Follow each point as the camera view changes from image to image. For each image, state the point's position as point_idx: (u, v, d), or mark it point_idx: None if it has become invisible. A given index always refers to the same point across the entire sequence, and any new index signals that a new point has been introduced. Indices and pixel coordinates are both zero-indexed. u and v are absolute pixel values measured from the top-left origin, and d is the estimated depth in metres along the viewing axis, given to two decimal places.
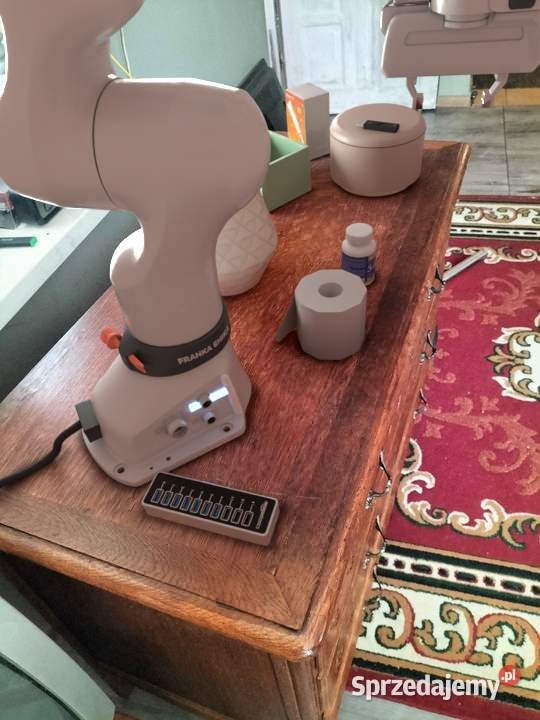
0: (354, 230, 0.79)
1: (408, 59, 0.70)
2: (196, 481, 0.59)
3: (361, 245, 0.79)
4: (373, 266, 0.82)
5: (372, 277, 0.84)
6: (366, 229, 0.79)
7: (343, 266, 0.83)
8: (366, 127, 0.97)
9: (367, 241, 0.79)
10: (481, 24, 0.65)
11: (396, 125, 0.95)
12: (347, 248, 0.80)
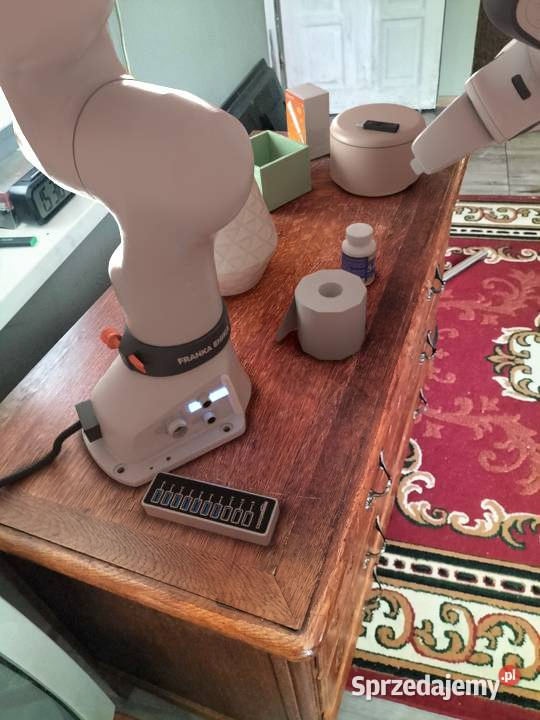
0: (354, 231, 0.79)
1: None
2: (196, 481, 0.59)
3: (361, 245, 0.79)
4: (373, 266, 0.82)
5: (372, 277, 0.84)
6: (366, 229, 0.79)
7: (343, 266, 0.83)
8: (366, 127, 0.97)
9: (367, 241, 0.79)
10: None
11: (396, 125, 0.95)
12: (347, 248, 0.80)
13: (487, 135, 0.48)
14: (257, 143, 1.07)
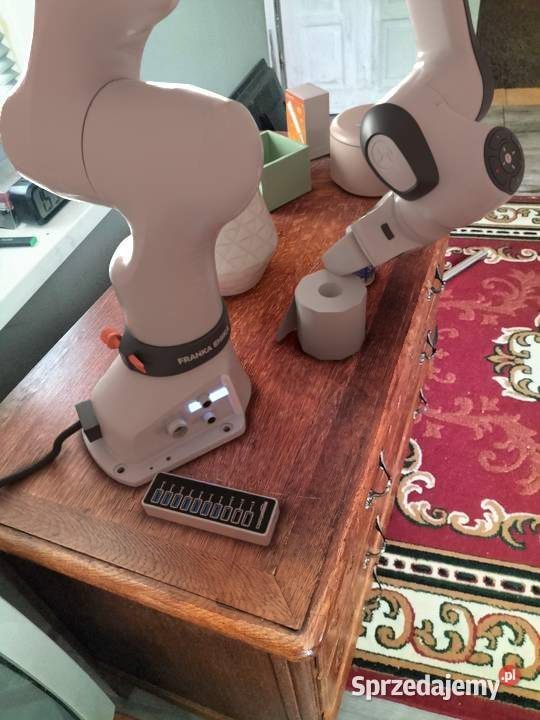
0: None
1: None
2: (196, 481, 0.59)
3: None
4: None
5: (372, 277, 0.84)
6: None
7: None
8: None
9: None
10: None
11: None
12: None
13: (367, 260, 0.69)
14: None
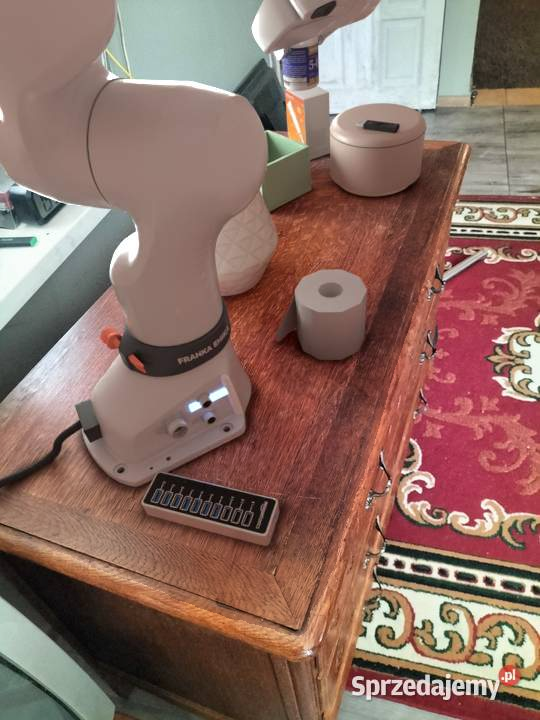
0: None
1: None
2: (196, 481, 0.59)
3: None
4: (316, 64, 0.76)
5: (315, 79, 0.78)
6: None
7: (284, 66, 0.77)
8: (366, 127, 0.97)
9: None
10: None
11: (396, 125, 0.95)
12: None
13: (295, 14, 0.63)
14: None
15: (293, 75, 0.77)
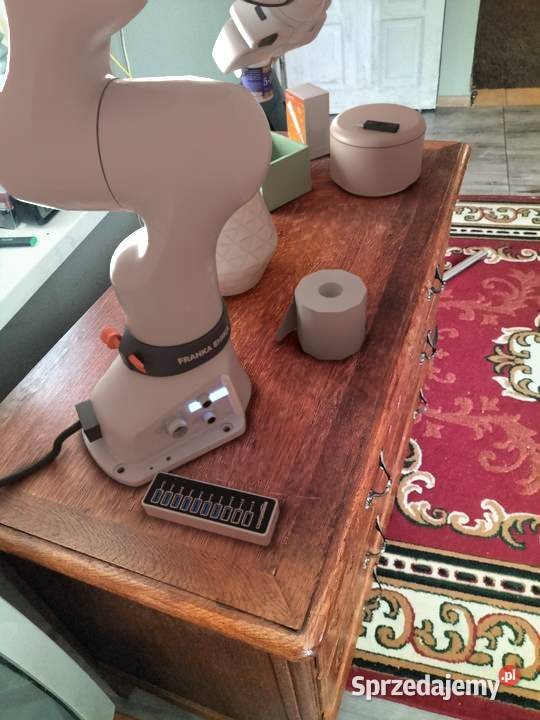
0: None
1: None
2: (196, 481, 0.59)
3: None
4: (269, 81, 0.92)
5: (270, 93, 0.93)
6: None
7: (243, 82, 0.93)
8: (366, 127, 0.97)
9: None
10: None
11: (396, 125, 0.95)
12: None
13: (245, 43, 0.78)
14: None
15: (250, 89, 0.92)
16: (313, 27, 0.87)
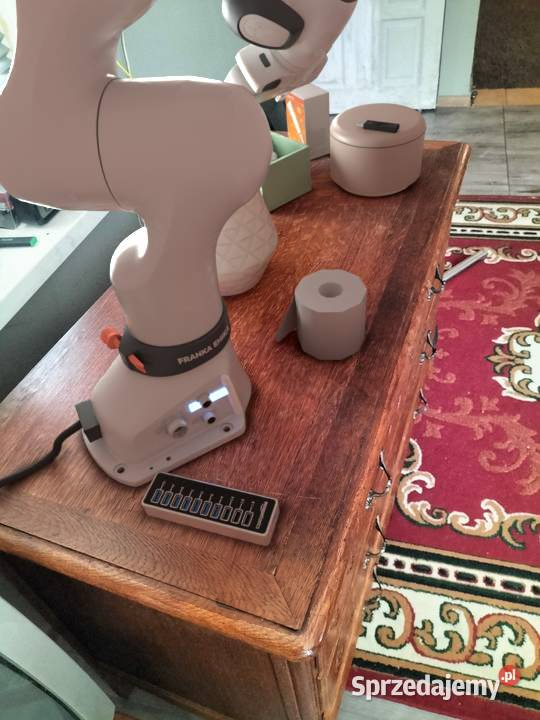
0: None
1: None
2: (196, 481, 0.59)
3: None
4: None
5: None
6: None
7: None
8: (366, 127, 0.97)
9: None
10: None
11: (396, 125, 0.95)
12: None
13: (250, 88, 0.83)
14: None
15: None
16: (314, 69, 0.91)
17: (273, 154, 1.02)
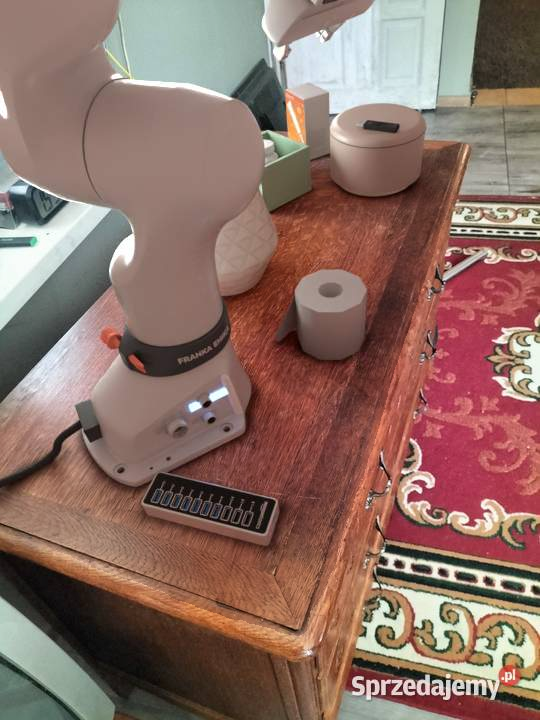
0: None
1: None
2: (196, 481, 0.59)
3: (265, 156, 1.01)
4: None
5: None
6: (268, 143, 1.01)
7: None
8: (366, 127, 0.97)
9: (269, 152, 1.01)
10: None
11: (396, 125, 0.95)
12: None
13: (307, 1, 0.64)
14: None
15: None
16: None
17: (274, 154, 1.03)
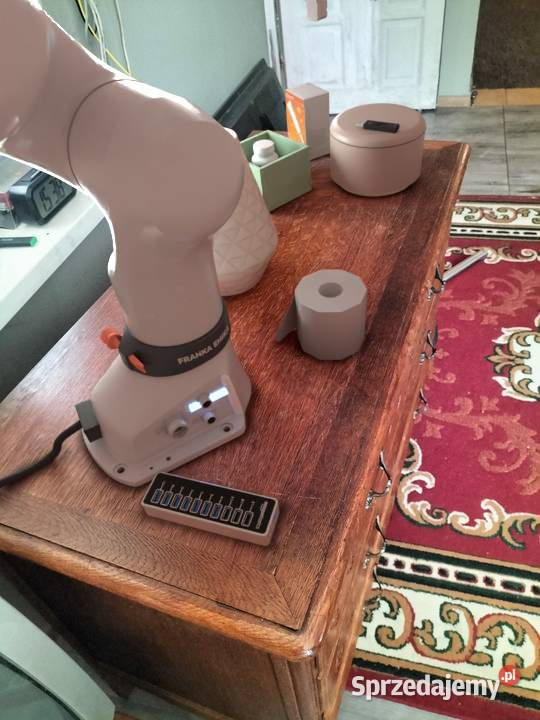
0: (259, 144, 1.01)
1: None
2: (196, 481, 0.59)
3: (265, 156, 1.01)
4: None
5: None
6: (268, 143, 1.01)
7: None
8: (366, 127, 0.97)
9: (269, 152, 1.01)
10: None
11: (396, 125, 0.95)
12: (255, 159, 1.02)
13: None
14: None
15: None
16: None
17: (274, 154, 1.03)
